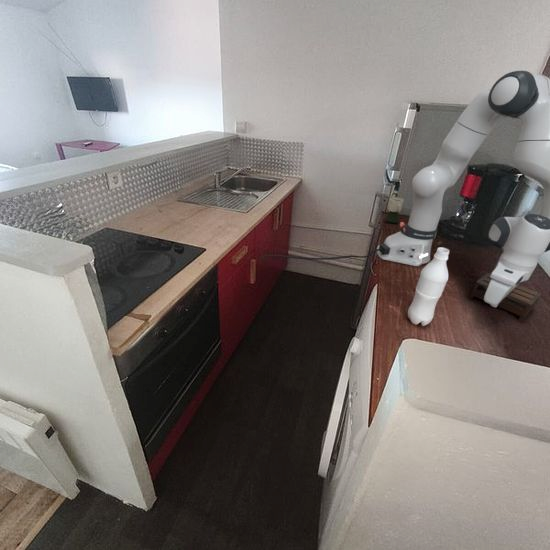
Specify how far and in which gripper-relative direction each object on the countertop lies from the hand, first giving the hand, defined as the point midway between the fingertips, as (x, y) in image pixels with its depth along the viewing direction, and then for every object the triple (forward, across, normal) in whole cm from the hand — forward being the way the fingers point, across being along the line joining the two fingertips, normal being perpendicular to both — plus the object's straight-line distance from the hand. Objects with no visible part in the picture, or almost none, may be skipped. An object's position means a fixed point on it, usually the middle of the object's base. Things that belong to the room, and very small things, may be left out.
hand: (494, 305), depth 96 cm
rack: (+3, -7, 0) cm, 8 cm away
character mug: (+3, -44, -66) cm, 80 cm away
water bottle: (+3, +24, -12) cm, 28 cm away
